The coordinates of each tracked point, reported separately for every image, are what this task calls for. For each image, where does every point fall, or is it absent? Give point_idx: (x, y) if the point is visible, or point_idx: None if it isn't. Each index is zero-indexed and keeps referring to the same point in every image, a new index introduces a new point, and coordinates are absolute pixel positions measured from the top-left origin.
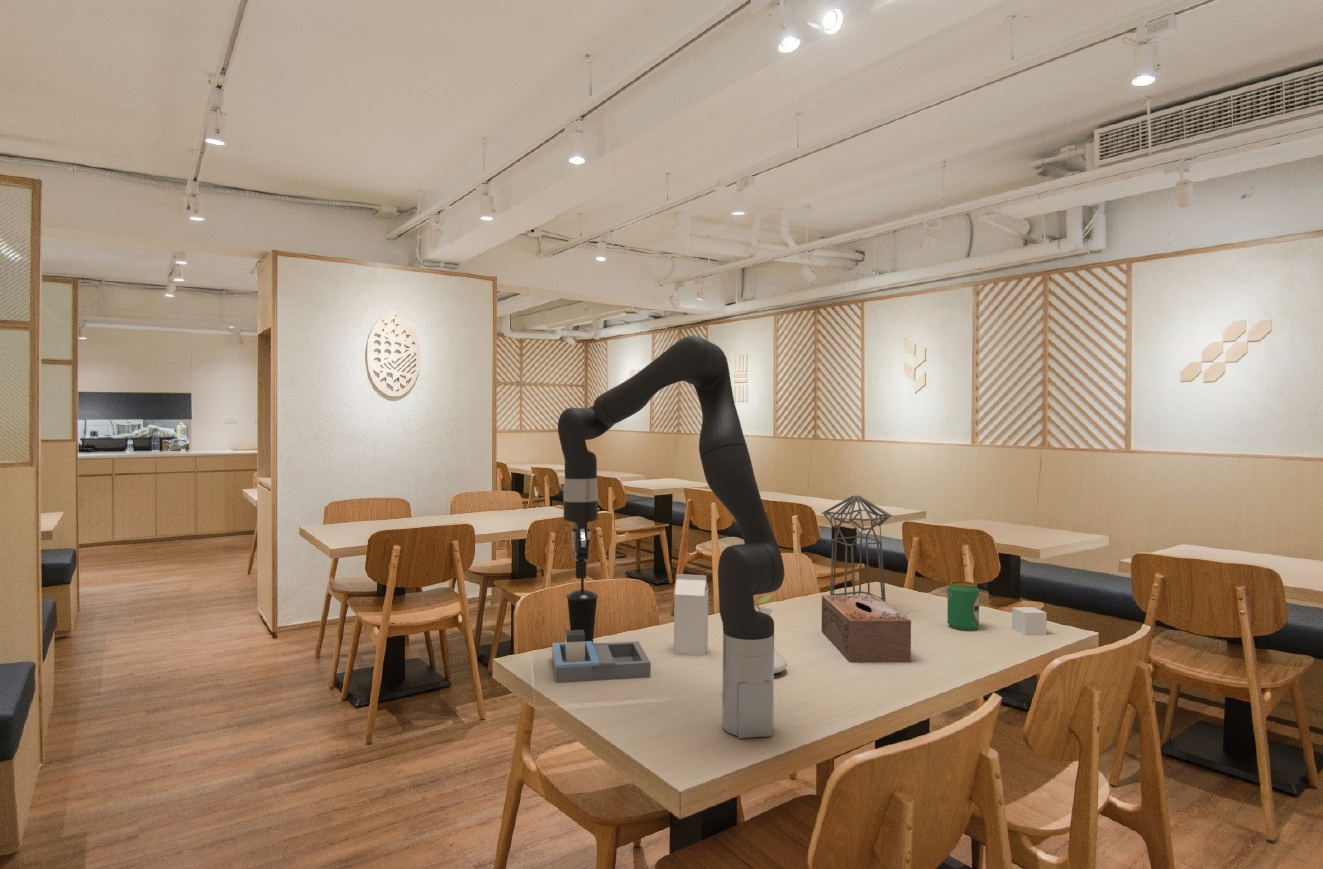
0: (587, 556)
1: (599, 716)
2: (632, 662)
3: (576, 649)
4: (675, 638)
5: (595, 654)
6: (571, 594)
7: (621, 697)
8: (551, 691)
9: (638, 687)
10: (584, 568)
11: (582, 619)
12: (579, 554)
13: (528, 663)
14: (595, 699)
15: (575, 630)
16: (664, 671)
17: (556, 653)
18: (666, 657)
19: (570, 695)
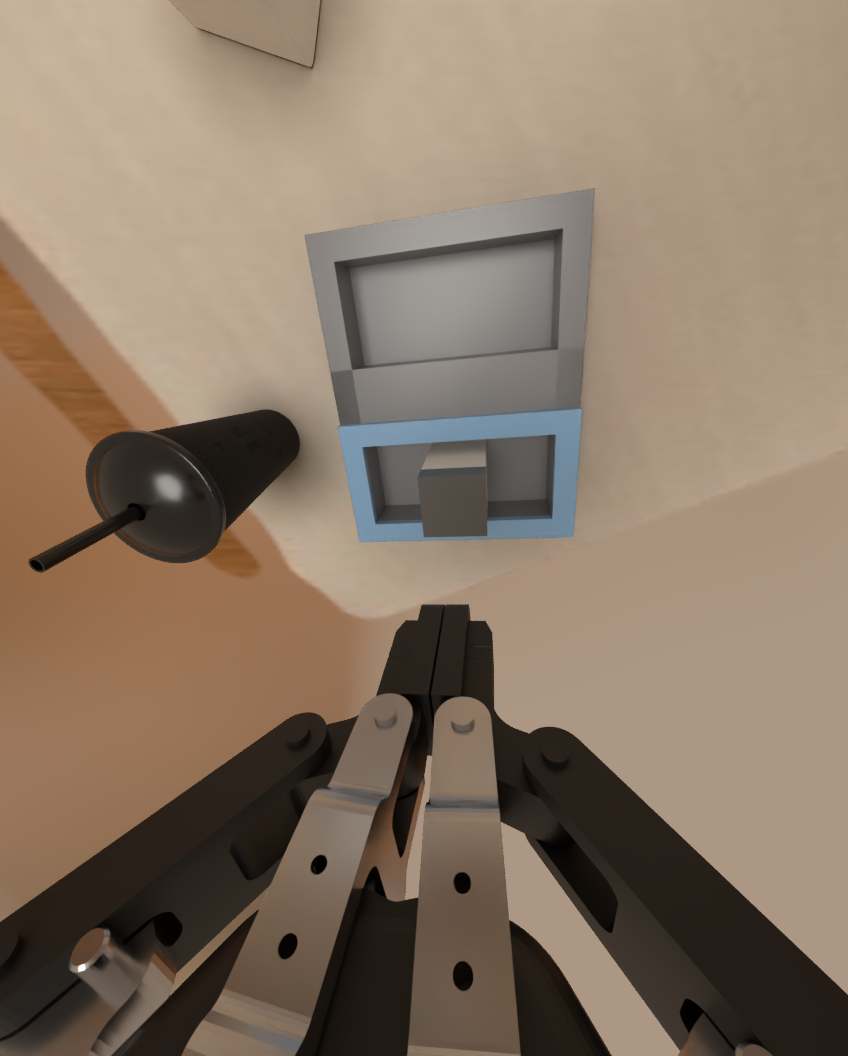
0: (609, 772)
1: (831, 403)
2: (573, 275)
3: (486, 485)
4: (277, 6)
5: (488, 418)
6: (180, 550)
7: (701, 328)
8: (590, 521)
9: (627, 261)
10: (491, 665)
11: (256, 473)
12: (565, 841)
13: (375, 568)
14: (689, 411)
15: (427, 505)
16: (479, 134)
17: None
18: (314, 111)
19: (634, 477)
